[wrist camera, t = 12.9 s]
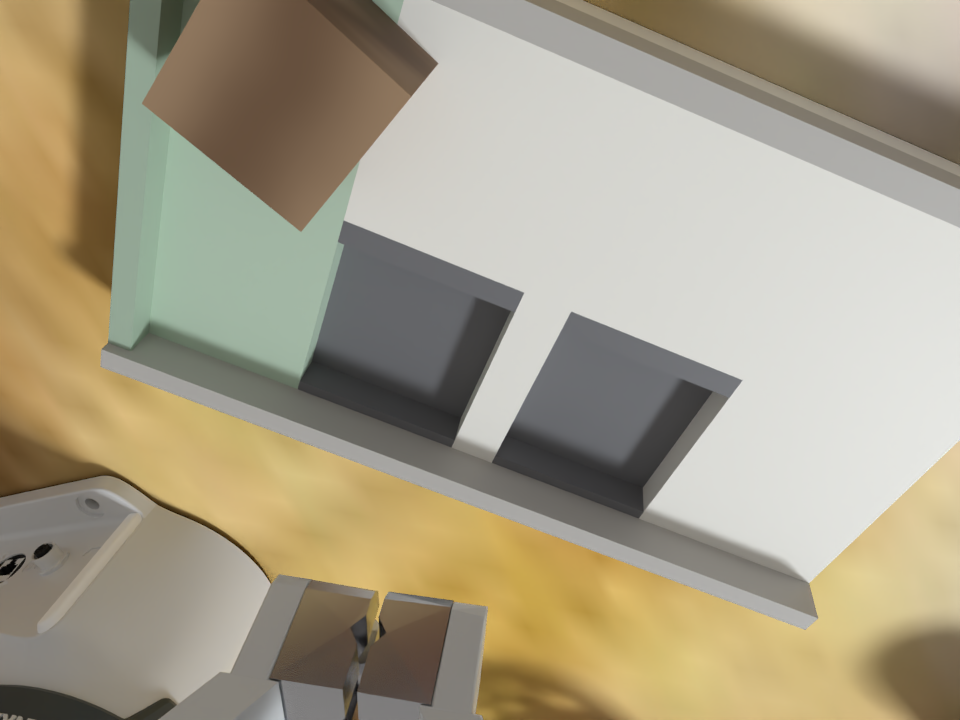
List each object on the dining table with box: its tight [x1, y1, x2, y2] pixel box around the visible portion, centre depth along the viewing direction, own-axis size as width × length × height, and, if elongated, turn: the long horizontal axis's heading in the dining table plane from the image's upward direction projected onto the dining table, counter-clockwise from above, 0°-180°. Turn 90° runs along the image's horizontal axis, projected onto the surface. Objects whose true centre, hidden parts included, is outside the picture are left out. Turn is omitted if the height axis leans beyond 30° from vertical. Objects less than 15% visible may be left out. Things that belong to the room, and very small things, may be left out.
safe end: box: [108, 0, 404, 389], centre depth 28 cm, size 8×20×4 cm, turn 160°
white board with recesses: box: [101, 0, 960, 630], centre depth 29 cm, size 34×20×4 cm, turn 70°
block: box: [142, 0, 439, 232], centre depth 23 cm, size 6×6×4 cm
